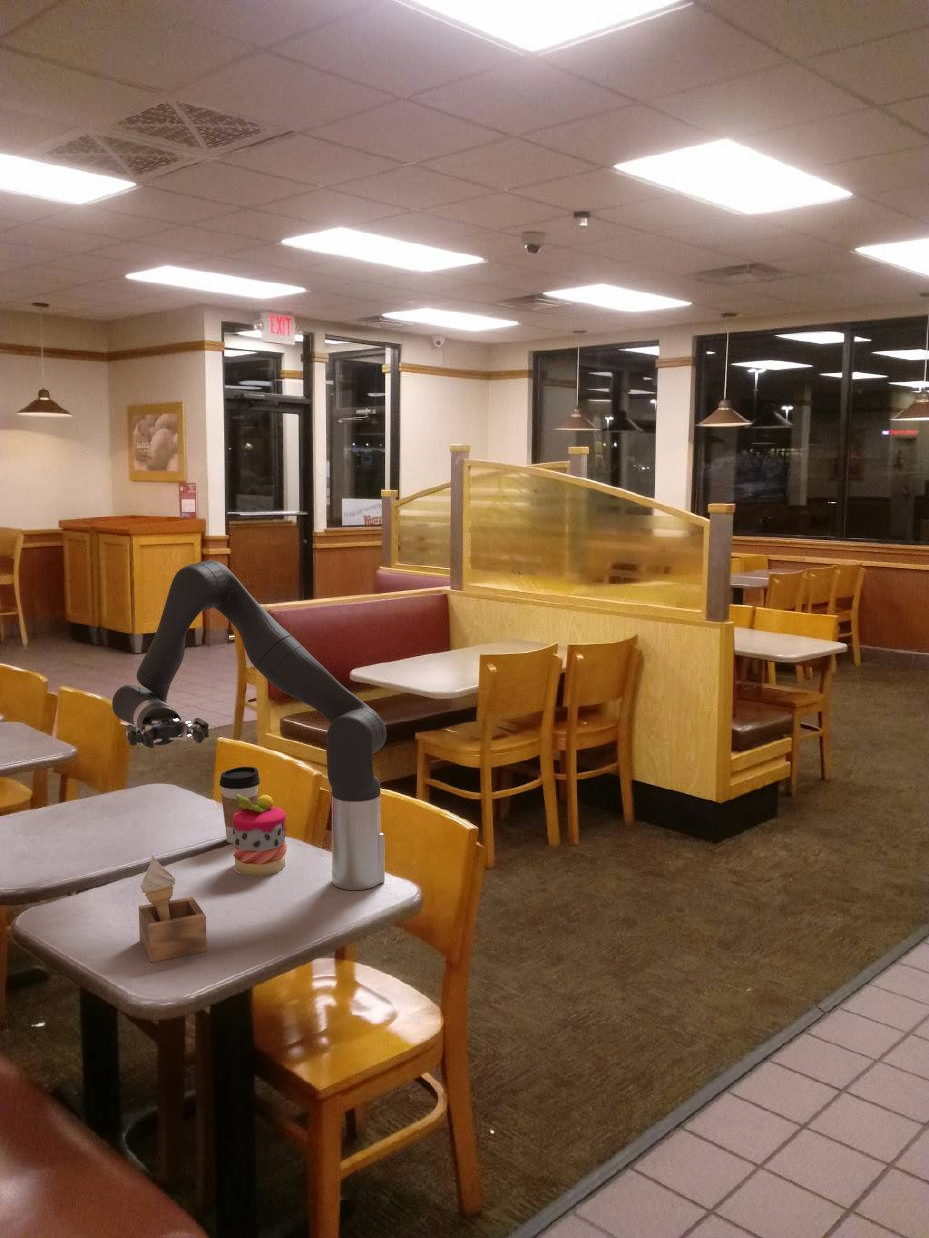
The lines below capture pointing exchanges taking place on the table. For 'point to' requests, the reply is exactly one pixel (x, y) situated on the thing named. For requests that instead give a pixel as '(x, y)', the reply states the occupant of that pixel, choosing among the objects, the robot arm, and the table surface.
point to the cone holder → (173, 930)
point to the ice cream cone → (158, 888)
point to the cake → (259, 837)
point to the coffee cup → (237, 793)
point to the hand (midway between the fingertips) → (176, 740)
